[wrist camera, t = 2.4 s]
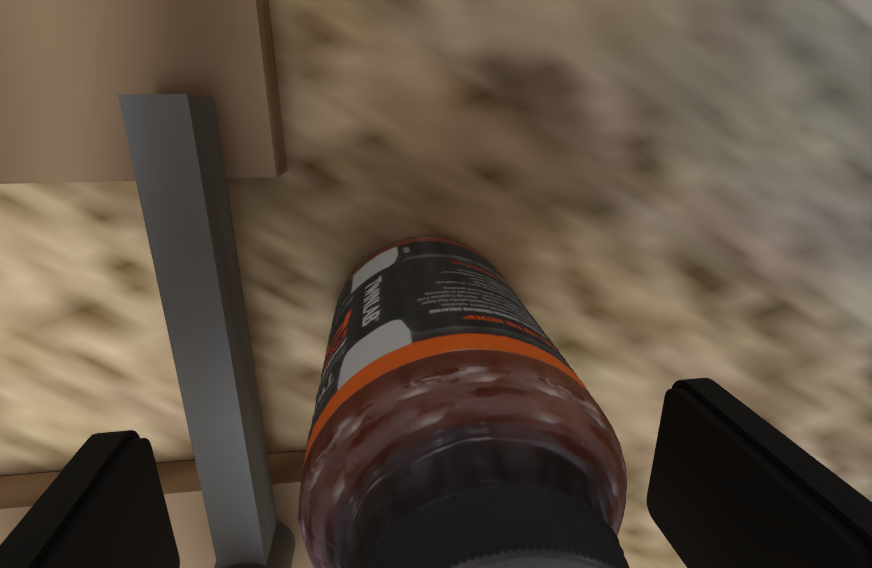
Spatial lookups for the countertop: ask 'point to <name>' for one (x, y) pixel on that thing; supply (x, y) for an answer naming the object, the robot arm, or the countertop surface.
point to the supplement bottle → (453, 428)
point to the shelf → (168, 226)
